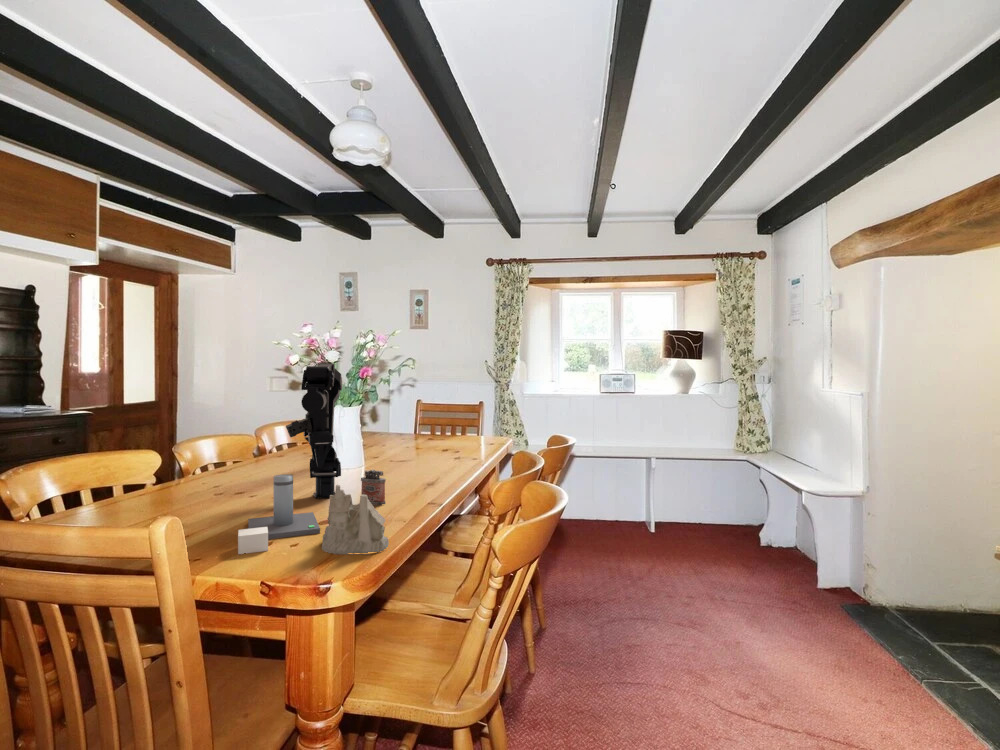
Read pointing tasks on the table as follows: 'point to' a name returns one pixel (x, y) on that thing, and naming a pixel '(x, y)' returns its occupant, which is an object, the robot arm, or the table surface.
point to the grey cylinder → (283, 500)
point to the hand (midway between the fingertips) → (317, 464)
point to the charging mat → (273, 531)
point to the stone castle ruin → (353, 526)
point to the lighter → (374, 487)
